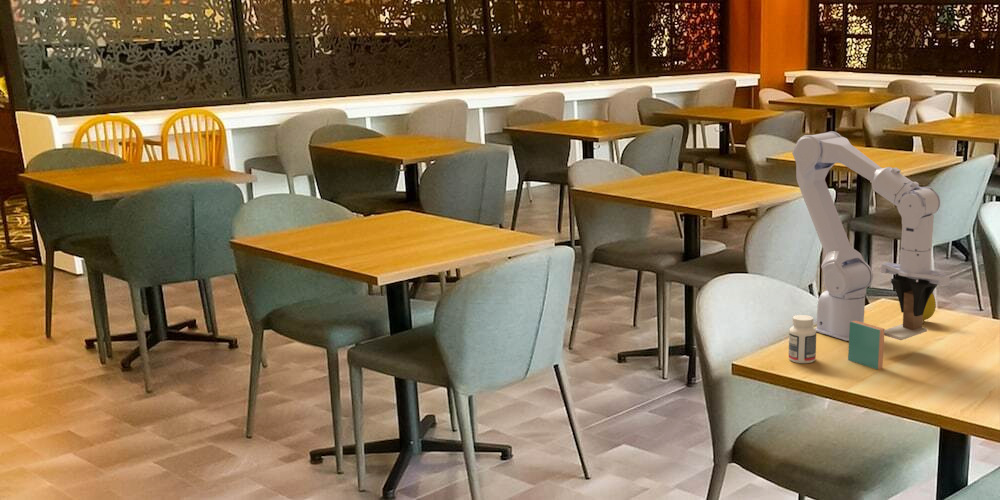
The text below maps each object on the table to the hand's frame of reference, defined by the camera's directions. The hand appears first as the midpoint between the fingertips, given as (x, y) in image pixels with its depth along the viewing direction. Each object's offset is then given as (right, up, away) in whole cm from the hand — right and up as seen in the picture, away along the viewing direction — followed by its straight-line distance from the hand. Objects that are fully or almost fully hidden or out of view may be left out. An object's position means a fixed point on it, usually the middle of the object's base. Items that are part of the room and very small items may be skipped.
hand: (912, 313), depth 210 cm
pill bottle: (-23, -9, -2) cm, 25 cm away
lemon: (+10, -3, +20) cm, 23 cm away
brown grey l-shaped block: (-2, -4, 0) cm, 4 cm away
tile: (-11, -10, -5) cm, 16 cm away
